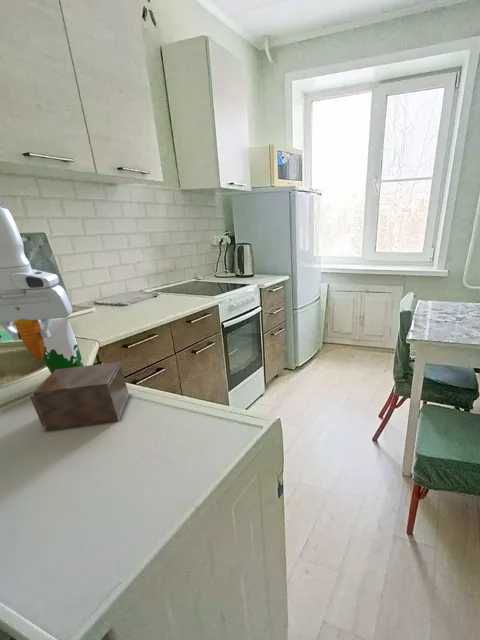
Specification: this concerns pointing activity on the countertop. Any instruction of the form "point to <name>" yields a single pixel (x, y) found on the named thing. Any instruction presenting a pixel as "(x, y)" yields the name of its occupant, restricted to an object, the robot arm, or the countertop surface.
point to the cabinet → (82, 396)
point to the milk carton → (61, 346)
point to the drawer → (38, 410)
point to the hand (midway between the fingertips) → (32, 338)
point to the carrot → (31, 336)
